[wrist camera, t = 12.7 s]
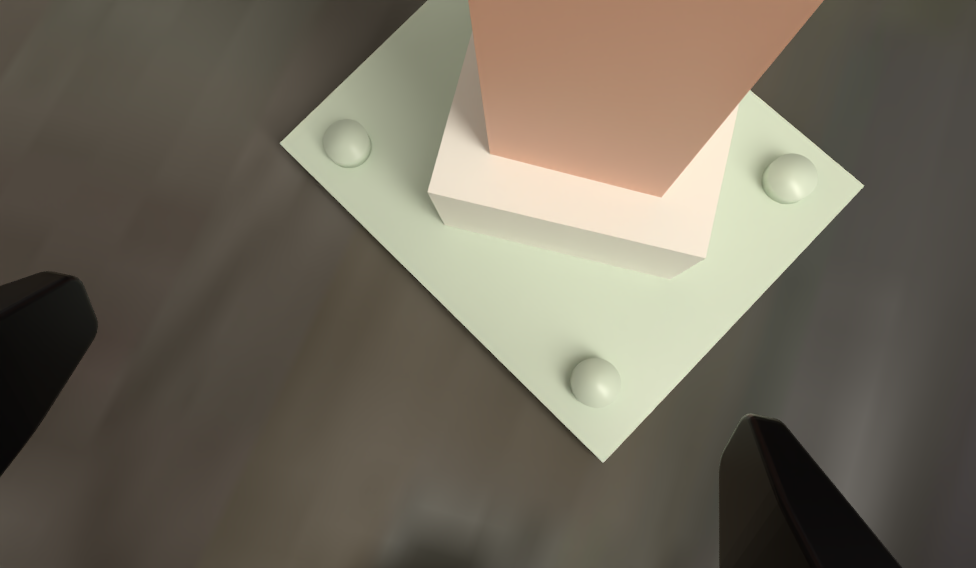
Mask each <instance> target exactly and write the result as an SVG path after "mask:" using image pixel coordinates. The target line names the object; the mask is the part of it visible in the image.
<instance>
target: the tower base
mask: <svg viewBox="0 0 976 568" xmlns="http://www.w3.org/2000/svg"><path fill="white" fill-rule="evenodd" d="M280 144H281V145H282V146H283V147H284V148H285V149H286V150H287V151H288V152H289V153H290V154H291V155H292V156H293V157H294V158H295V159H296V160H297V161H298V162H299V163H300V164H301V165H302V166H303V167H304V168H305V169H306V170H307V171H308V172H309V173H310V174H311V175H312V176H313V177H314V178H315V179H316V180H317V181H318V182H319V183H320V184H321V185H322V186H323V187H324V188H325V189H326V190H327V191H328V192H329V193H330V194H331V195H332V196H333V197H334V198H335V199H336V200H337V201H338V202H339V203H340V204H341V205H342V206H343V207H344V208H345V209H346V210H347V211H348V212H350V213H351V214H352V215H353V216H354V217H355V218H356V219H357V220H358V221H359V222H360V223H361V224H362V225H363V226H364V227H365V228H366V229H367V230H368V231H369V232H370V233H371V234H372V235H373V236H374V237H375V238H376V239H377V240H378V241H379V242H380V243H381V244H382V245H383V246H384V247H385V248H386V249H387V250H388V251H389V252H390V253H391V254H392V255H393V256H394V257H395V258H396V259H397V260H398V261H399V262H400V263H401V264H402V265H403V266H404V267H405V268H406V269H407V270H408V271H409V272H410V273H411V274H412V275H413V276H414V277H415V278H416V279H417V280H418V281H419V282H420V283H421V284H422V285H423V286H424V287H425V288H426V289H427V290H428V291H430V292H431V293H432V294H433V295H434V296H435V297H436V298H437V299H438V300H439V301H440V302H441V303H442V304H443V305H444V306H445V307H446V308H447V309H448V310H449V311H450V312H451V313H452V314H453V315H454V316H455V317H456V318H457V319H458V320H459V321H460V322H461V323H462V324H463V325H464V326H465V327H466V328H467V329H468V330H469V331H470V332H471V333H472V334H473V335H474V336H475V337H476V338H477V339H478V340H479V341H480V342H481V343H482V344H483V345H484V346H485V347H486V348H487V349H488V350H489V351H490V352H491V353H492V354H493V355H494V356H495V357H496V358H497V359H498V360H499V361H500V362H501V363H502V364H503V365H504V366H505V367H506V368H507V369H508V370H510V371H511V372H512V373H513V374H514V375H515V376H516V377H517V378H518V379H519V380H520V381H521V382H522V383H523V384H524V385H525V386H526V387H527V388H528V389H529V390H530V391H531V392H532V393H533V394H534V395H535V396H536V397H537V398H538V399H539V400H540V401H541V402H542V403H543V404H544V405H545V406H546V407H547V408H548V409H549V410H550V411H551V412H552V413H553V414H554V415H555V416H556V417H557V418H558V419H559V420H560V421H561V422H562V423H563V424H564V425H565V426H566V427H567V428H568V429H569V430H570V431H571V432H572V433H573V434H574V435H575V436H576V437H577V438H578V439H579V440H580V441H581V442H582V443H583V444H584V445H585V446H586V447H587V448H588V449H590V450H591V451H592V452H593V453H594V454H595V455H596V456H597V457H598V458H599V459H600V460H601V461H602V462H603V463H604V462H605V460H606V459H607V458H608V457H609V456H610V455H611V454H612V453H613V452H614V451H615V450H616V449H617V448H618V447H619V446H620V445H621V444H622V442H623V441H624V440H625V439H626V438H627V437H628V436H629V435H630V434H631V433H632V432H633V431H634V430H635V429H636V428H637V427H638V425H639V424H640V423H641V422H642V421H643V420H644V419H645V418H646V417H647V416H648V415H649V414H650V413H651V412H652V411H653V410H654V408H655V407H656V406H657V405H658V404H659V403H660V402H661V401H662V400H663V399H664V398H665V397H666V396H667V395H668V394H669V393H670V392H671V390H672V389H673V388H674V387H675V386H676V385H677V384H678V383H679V382H680V381H681V380H682V379H683V378H684V377H685V376H686V375H687V373H688V372H689V371H690V370H691V369H692V368H693V367H694V366H695V365H696V364H697V363H698V362H699V361H700V360H701V359H702V358H703V356H704V355H705V354H706V353H707V352H708V351H709V350H710V349H711V348H712V347H713V346H714V345H715V344H716V343H717V342H718V341H719V340H720V338H721V337H722V336H723V335H724V334H725V333H726V332H727V331H728V330H729V329H730V328H731V327H732V326H733V325H734V324H735V323H736V321H737V320H738V319H739V318H740V317H741V316H742V315H743V314H744V313H745V312H746V311H747V310H748V309H749V308H750V307H751V306H752V304H753V303H754V302H755V301H756V300H757V299H758V298H759V297H760V296H761V295H762V294H763V293H764V292H765V291H766V290H767V289H768V288H769V286H770V285H771V284H772V283H773V282H774V281H775V280H776V279H777V278H778V277H779V276H780V275H781V274H782V273H783V272H784V271H785V269H786V268H787V267H788V266H789V265H790V264H791V263H792V262H793V261H794V260H795V259H796V258H797V257H798V256H799V255H800V254H801V252H802V251H803V250H804V249H805V248H806V247H807V246H808V245H809V244H810V243H811V242H812V241H813V240H814V239H815V238H816V237H817V236H818V234H819V233H820V232H821V231H822V230H823V229H824V228H825V227H826V226H827V225H828V224H829V223H830V222H831V221H832V220H833V219H834V217H835V216H836V215H837V214H838V213H839V212H840V211H841V210H842V209H843V208H844V207H845V206H846V205H847V204H848V203H849V202H850V200H851V199H852V198H853V197H854V196H855V195H856V194H857V193H858V192H859V191H860V190H861V189H862V188H863V187H864V185H863V184H861V183H860V182H859V181H858V180H857V179H855V178H854V177H853V176H852V175H851V174H849V173H848V172H847V171H846V170H845V169H843V168H842V167H841V166H840V165H839V164H837V163H836V162H835V161H834V160H833V159H831V158H830V157H829V156H828V155H827V154H826V153H824V152H823V151H822V150H821V149H820V148H818V147H817V146H816V145H815V144H814V143H812V142H811V141H810V140H809V139H808V138H806V137H805V136H804V135H803V134H802V133H800V132H799V131H798V130H797V129H796V128H794V127H793V126H792V125H791V124H790V123H788V122H787V121H786V120H785V119H784V118H783V117H781V116H780V115H779V114H778V113H777V112H775V111H774V110H773V109H772V108H771V107H769V106H768V105H767V104H766V103H765V102H763V101H762V100H761V99H760V98H759V97H757V96H756V95H755V94H754V93H753V92H751V91H750V90H749V92H748V93H747V94H746V95H745V97H744V98H743V99H742V100H741V101H740V103H739V104H738V105H737V106H736V107H735V109H734V110H733V111H732V112H731V114H730V115H729V116H728V117H727V118H726V120H725V121H724V122H723V123H722V124H721V126H720V127H719V128H718V129H717V130H716V132H715V133H714V134H713V135H712V137H711V138H710V139H709V140H708V141H707V143H706V144H705V145H704V146H703V147H702V149H701V150H700V151H699V152H698V154H697V155H696V156H695V157H694V158H693V160H692V161H691V162H690V163H689V164H688V166H687V167H686V168H685V169H684V171H683V172H682V173H681V174H680V175H679V177H678V178H677V179H676V180H675V181H674V183H673V184H672V185H671V186H670V188H669V189H668V190H667V191H666V192H665V194H664V195H663V196H662V197H657V196H653V195H649V194H645V193H641V192H637V191H633V190H629V189H626V188H622V187H618V186H614V185H610V184H606V183H602V182H598V181H594V180H590V179H586V178H582V177H578V176H574V175H571V174H567V173H563V172H559V171H555V170H551V169H547V168H543V167H539V166H535V165H531V164H527V163H523V162H519V161H516V160H512V159H508V158H504V157H500V156H496V155H492V154H490V151H489V144H488V137H487V130H486V123H485V116H484V109H483V102H482V95H481V88H480V80H479V73H478V66H477V59H476V52H475V45H474V38H473V31H472V24H471V17H470V10H469V3H468V0H427V1H426V2H425V3H424V4H423V5H422V6H421V7H420V8H419V9H418V10H417V11H416V12H415V13H414V14H413V15H412V16H411V17H410V18H409V19H408V20H407V21H406V22H405V23H404V24H403V25H402V26H401V27H399V28H398V29H397V30H396V31H395V32H394V33H393V34H392V35H391V36H390V37H389V38H388V39H387V40H386V41H385V42H384V43H383V44H382V45H381V46H380V47H379V48H378V49H377V50H376V51H375V52H374V53H373V54H372V55H370V56H369V57H368V58H367V59H366V60H365V61H364V62H363V63H362V64H361V65H360V66H359V67H358V68H357V69H356V70H355V71H354V72H353V73H352V74H351V75H350V76H349V77H348V78H347V79H346V80H345V81H344V82H343V83H341V84H340V85H339V86H338V87H337V88H336V89H335V90H334V91H333V92H332V93H331V94H330V95H329V96H328V97H327V98H326V99H325V100H324V101H323V102H322V103H321V104H320V105H319V106H318V107H317V108H316V109H315V110H314V111H313V112H311V113H310V114H309V115H308V116H307V117H306V118H305V119H304V120H303V121H302V122H301V123H300V124H299V125H298V126H297V127H296V128H295V129H294V130H293V131H292V132H291V133H290V134H289V135H288V136H287V137H286V138H285V139H284V140H282V141H281V142H280Z"/></svg>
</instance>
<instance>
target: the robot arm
mask: <svg viewBox="0 0 976 568" xmlns="http://www.w3.org/2000/svg"><path fill="white" fill-rule="evenodd" d="M97 328H98V321H97V318H96V315H95V313H94V310H93V308H92V305H91V303H90V300H89V297H88V295H87V292H86V290H85V287H84V285H83V283H82V282H81V281H80V280H79V279H78V278H77V277H75V276H71V275H66V274H61V273H56V272H48V271H46V272H41V273H37V274H34V275H31V276H28V277H25V278H22V279H20V280H17V281H14V282H11V283H8V284H5V285H2V286H0V477H1V475H2V474H3V473H4V471H5V470H6V469H7V468H8V466H9V465H10V464H11V462H12V461H13V460H14V459H15V457H16V456H17V455H18V453H19V452H20V451H21V450H22V448H23V447H24V446H25V444H26V443H27V442H28V440H29V439H30V438H31V436H32V435H33V433H34V432H35V431H36V429H37V428H38V426H39V425H40V423H41V422H42V420H43V419H44V417H45V416H46V414H47V413H48V411H49V409H50V408H51V406H52V405H53V403H54V402H55V400H56V398H57V397H58V395H59V394H60V392H61V390H62V389H63V387H64V386H65V384H66V383H67V381H68V379H69V378H70V376H71V375H72V373H73V371H74V370H75V368H76V367H77V365H78V364H79V362H80V360H81V359H82V357H83V356H84V354H85V352H86V351H87V349H88V348H89V346H90V345H91V343H92V341H93V340H94V338H95V336H96V333H97ZM719 568H902V567H901V566H900V564H899V563H898V562H897V561H896V560H895V558H894V557H893V556H892V555H891V553H890V552H889V551H888V550H887V549H886V547H885V546H884V545H883V544H882V542H881V541H880V540H879V539H878V538H877V536H876V535H875V534H874V533H873V531H872V530H871V529H870V528H869V527H868V525H867V524H866V523H865V522H864V520H863V519H862V518H861V517H860V516H859V514H858V513H857V512H856V511H855V510H854V508H853V507H852V506H851V505H850V503H849V502H848V501H847V500H846V499H845V497H844V496H843V495H842V494H841V492H840V491H839V490H838V489H837V488H836V486H835V485H834V484H833V483H832V481H831V480H830V479H829V478H828V477H827V475H826V474H825V473H824V472H823V471H822V469H821V468H820V467H819V466H818V464H817V463H816V462H815V461H814V460H813V458H812V457H811V456H810V455H809V453H808V452H807V451H806V450H805V449H804V447H803V446H802V445H801V444H800V442H799V441H798V440H797V439H796V438H795V436H794V435H793V434H792V433H791V431H790V430H789V429H788V428H787V427H786V425H785V424H784V423H782V422H781V421H780V420H778V419H775V418H770V417H765V416H760V415H755V414H747V415H745V416H744V417H743V418H742V419H741V420H740V422H739V424H738V426H737V427H736V429H735V431H734V433H733V435H732V436H731V438H730V440H729V442H728V444H727V445H726V447H725V449H724V451H723V453H722V456H721V460H720V466H719Z"/></svg>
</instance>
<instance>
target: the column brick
mask: <svg viewBox="0 0 976 568" xmlns="http://www.w3.org/2000/svg"><path fill="white" fill-rule="evenodd" d="M823 1H824V0H468V3H469V10H470V17H471V24H472V31H473V38H474V45H475V52H476V59H477V66H478V73H479V80H480V88H481V95H482V102H483V109H484V116H485V123H486V130H487V137H488V144H489V151H490V154H492V155H496V156H500V157H504V158H508V159H512V160H516V161H519V162H523V163H527V164H531V165H535V166H539V167H543V168H547V169H551V170H555V171H559V172H563V173H567V174H571V175H574V176H578V177H582V178H586V179H590V180H594V181H598V182H602V183H606V184H610V185H614V186H618V187H622V188H626V189H629V190H633V191H637V192H641V193H645V194H649V195H653V196H657V197H662V196H663V195H664V194H665V192H666V191H667V190H668V189H669V188H670V186H671V185H672V184H673V183H674V181H675V180H676V179H677V178H678V177H679V175H680V174H681V173H682V172H683V171H684V169H685V168H686V167H687V166H688V164H689V163H690V162H691V161H692V160H693V158H694V157H695V156H696V155H697V154H698V152H699V151H700V150H701V149H702V147H703V146H704V145H705V144H706V143H707V141H708V140H709V139H710V138H711V137H712V135H713V134H714V133H715V132H716V130H717V129H718V128H719V127H720V126H721V124H722V123H723V122H724V121H725V120H726V118H727V117H728V116H729V115H730V114H731V112H732V111H733V110H734V109H735V107H736V106H737V105H738V104H739V103H740V101H741V100H742V99H743V98H744V97H745V95H746V94H747V93H748V92H749V90H750V89H751V88H752V87H753V86H754V84H755V83H756V82H757V81H758V80H759V78H760V77H761V76H762V75H763V73H764V72H765V71H766V70H767V69H768V67H769V66H770V65H771V64H772V63H773V61H774V60H775V59H776V58H777V56H778V55H779V54H780V53H781V52H782V50H783V49H784V48H785V47H786V46H787V44H788V43H789V42H790V41H791V39H792V38H793V37H794V36H795V35H796V33H797V32H798V31H799V30H800V29H801V27H802V26H803V25H804V24H805V22H806V21H807V20H808V19H809V18H810V16H811V15H812V14H813V13H814V12H815V10H816V9H817V8H818V7H819V5H820V4H821V3H822V2H823Z"/></svg>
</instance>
